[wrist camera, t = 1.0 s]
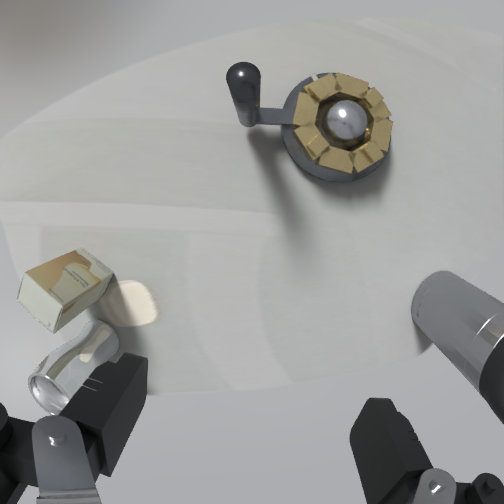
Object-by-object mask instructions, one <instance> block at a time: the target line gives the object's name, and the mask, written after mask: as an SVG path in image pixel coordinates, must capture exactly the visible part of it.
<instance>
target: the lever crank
mask: <svg viewBox="0 0 504 504" xmlns="http://www.w3.org/2000/svg"><path fill="white" fill-rule="evenodd" d="M260 79H261V75H260V71H259V70H258V68H257V67H256V66H255V65H253V64H251V63H248V62H239V63H236V64H234V65H233V66H231V67H230V68H229V70H228V72H227V75H226V80H227V83H228V86H229V89H230V92H231V96H232V99H233V102H234V105H235V108H236V111H237V114H238V118H239V121H240V123H241V124H242V125H243V126H245V127H253V126H255V125H256V124H265V125H283V126H290V127H291V128H295V130H294V131H293V132H292V135H293V137H294V138H295V140H296V141H297V143H298V144H299V146H300V148H301V149H302V151H303V152H304V154H305V155H306V157H307V159H308V160H309V161H312V160H314V159H316V162H315V166H319V167H323V168H326V169H330V170H334V171H337V172H341V173H344V174H352V173H358V172H360V171H362V170H363V169H365V168H367V167H368V166H370V165H372V164H373V163H375V162H377V161H378V160H380V159H381V158H383V157H384V156H383V152H388V147H389V141H390V136H391V130H392V124H393V121H391V120H388V119H386V118H387V117H389V116H391V113H390V111H389V110H388V108H387V106H386V105H385V103H384V102H383V100H382V99H383V97H382V95H381V94H380V93H379V92H378V91H377V90H376V89H375V87H373V88H371V89H369V90H368V85H369V83H368V82H365V81H363V80H360V79H357V78H354V77H351V76H348V75H344V74H341V73H337V74H336V75H335V76H333V75H332V73H330V74H328V75H326V76H324V77H322V78H320V79H318V80H316V81H314V82H312V83H310V84H308V85H306V86H304V87H303V89H302V91H301V92H299V94H298V96H297V99H296V103H295V108H294V110H291V109H276V108H260ZM332 97H336V98H339V99H342V100H349V101H353V102H355V103H357V104H358V105H360V106H361V107H362V108H363V110H364V111H365V113H366V116H367V127H366V131H365V136H364V141H363V144H361V145H359V146H358V147H356V148H354V149H352V150H351V151H346V150H343V149H339V148H336V147H332V146H329V145H330V144H329V143H328V142H327V141H326V140H325V139H324V138H323V136H322V135H321V133H320V132H319V130H318V129H317V127H316V126H315V120H316V116H317V111H318V106H319V104H321V103H323V102H325V101H327V100H329V99H331V98H332Z"/></svg>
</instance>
